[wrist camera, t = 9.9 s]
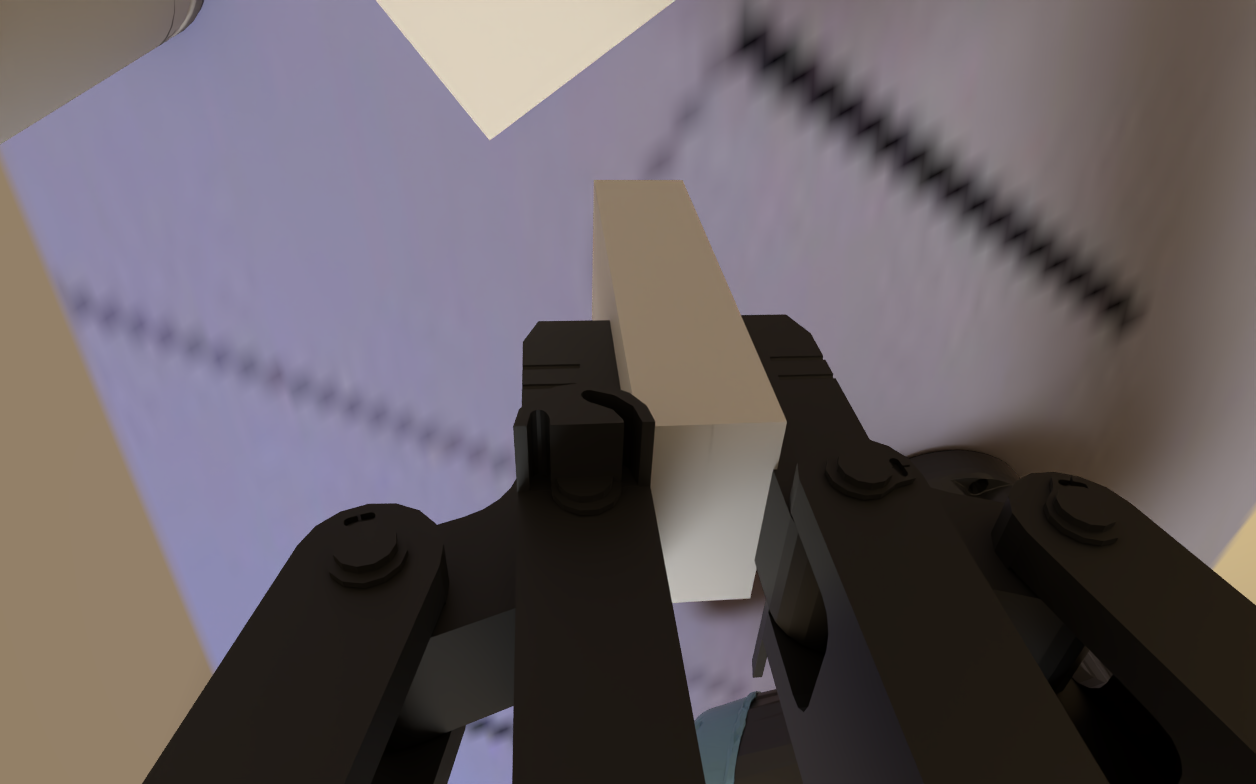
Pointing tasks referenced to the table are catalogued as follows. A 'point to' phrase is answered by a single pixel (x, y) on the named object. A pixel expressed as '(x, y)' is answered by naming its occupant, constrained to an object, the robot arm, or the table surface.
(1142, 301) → the table surface
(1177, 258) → the table surface
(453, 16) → the card
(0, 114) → the travel mug
